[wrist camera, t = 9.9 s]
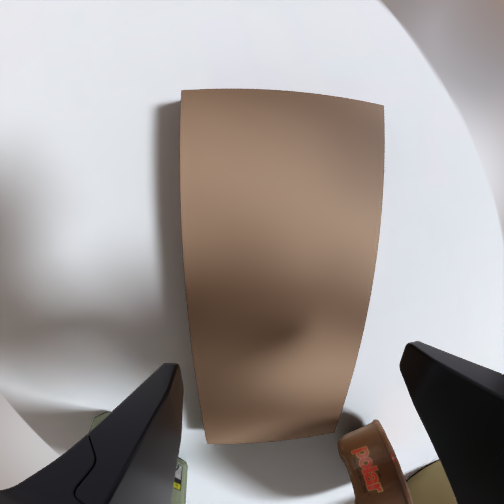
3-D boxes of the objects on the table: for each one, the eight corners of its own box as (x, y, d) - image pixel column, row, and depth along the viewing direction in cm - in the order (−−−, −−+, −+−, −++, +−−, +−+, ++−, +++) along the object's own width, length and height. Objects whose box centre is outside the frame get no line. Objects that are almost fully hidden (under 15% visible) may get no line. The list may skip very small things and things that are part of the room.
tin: (384, 468, 18) (414, 532, 10) (354, 482, 18) (380, 548, 10) (369, 393, 13) (437, 517, 5) (316, 418, 13) (364, 552, 5)
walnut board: (328, 418, 14) (334, 432, 13) (207, 427, 13) (207, 443, 12) (368, 110, 9) (383, 105, 8) (186, 98, 9) (181, 90, 8)
